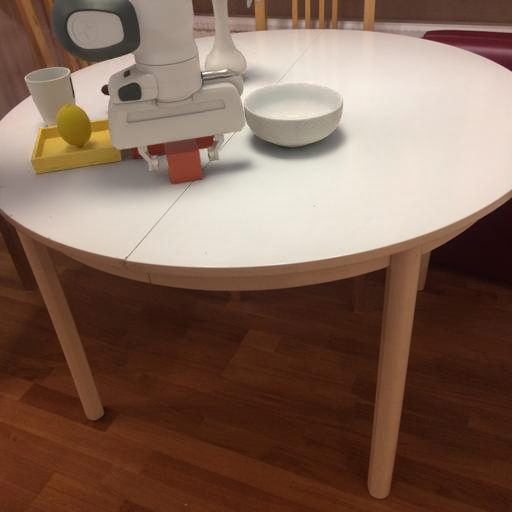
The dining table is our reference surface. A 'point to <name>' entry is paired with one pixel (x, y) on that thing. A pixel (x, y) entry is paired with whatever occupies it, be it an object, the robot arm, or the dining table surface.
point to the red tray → (160, 149)
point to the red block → (183, 160)
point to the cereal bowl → (293, 113)
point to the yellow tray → (73, 149)
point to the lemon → (73, 125)
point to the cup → (51, 91)
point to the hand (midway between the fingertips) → (184, 163)
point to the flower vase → (224, 42)
